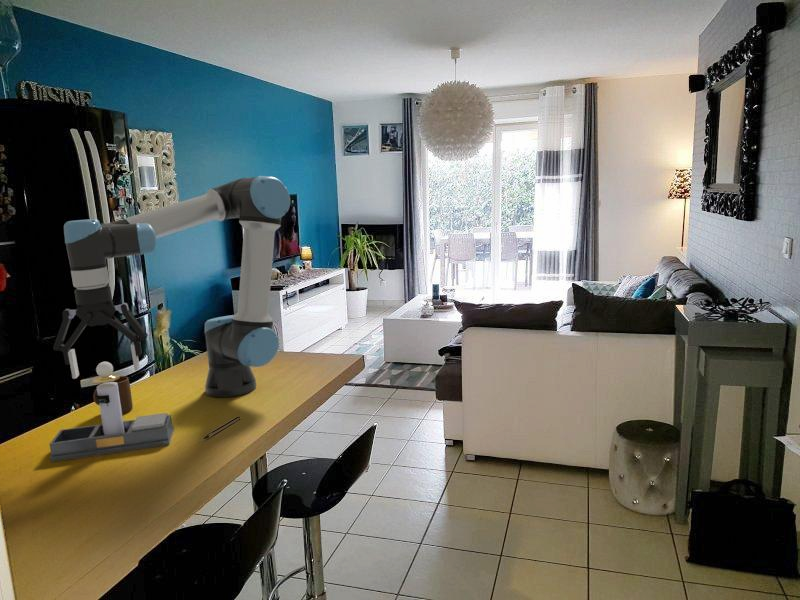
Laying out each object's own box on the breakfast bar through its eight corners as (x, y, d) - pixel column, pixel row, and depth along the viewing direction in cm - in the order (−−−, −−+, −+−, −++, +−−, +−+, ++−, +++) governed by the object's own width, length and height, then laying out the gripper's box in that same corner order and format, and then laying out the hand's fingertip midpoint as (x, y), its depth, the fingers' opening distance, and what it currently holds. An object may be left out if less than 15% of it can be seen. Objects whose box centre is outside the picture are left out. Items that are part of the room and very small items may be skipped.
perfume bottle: (114, 434, 146) (103, 357, 143) (133, 436, 145) (122, 359, 141) (96, 443, 141) (84, 364, 137) (115, 445, 139) (103, 366, 136)
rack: (173, 429, 151) (171, 410, 150) (169, 444, 142) (166, 424, 141) (63, 444, 145) (60, 425, 144) (50, 462, 135) (47, 441, 134)
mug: (110, 423, 157) (105, 390, 155) (86, 422, 159) (81, 389, 157) (138, 407, 169) (134, 376, 167) (116, 406, 170) (111, 375, 169)
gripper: (151, 278, 142) (163, 361, 146) (37, 289, 136) (54, 375, 140) (146, 283, 135) (159, 370, 139) (26, 294, 129) (44, 385, 133)
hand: (107, 373), depth 140 cm, fingers open, 13 cm apart
